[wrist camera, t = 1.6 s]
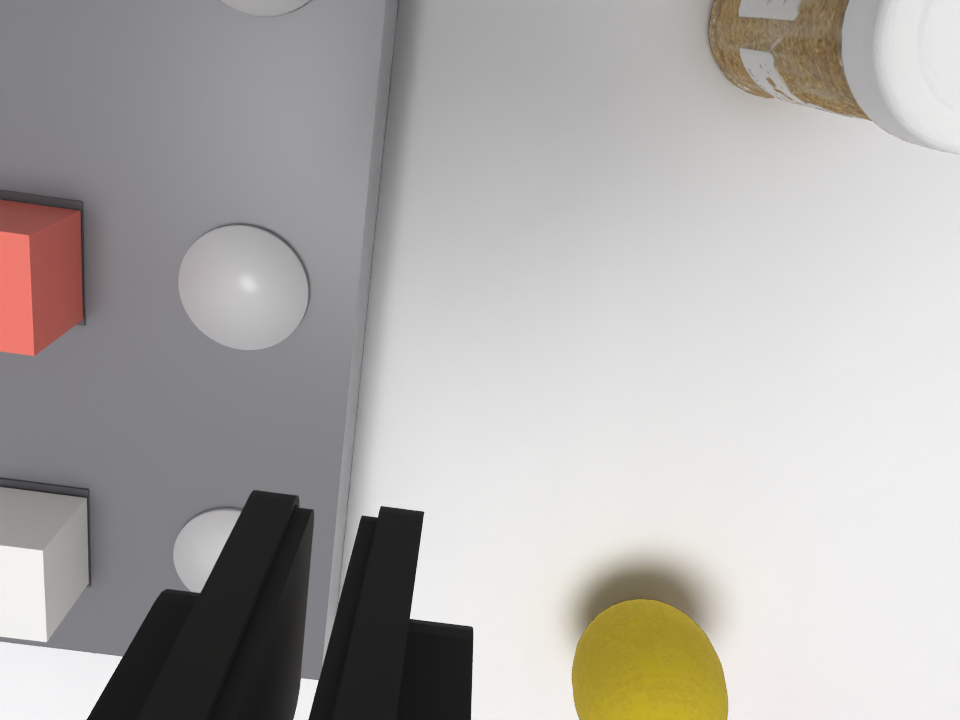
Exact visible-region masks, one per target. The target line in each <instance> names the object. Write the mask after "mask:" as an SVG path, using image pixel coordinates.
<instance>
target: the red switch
mask: <svg viewBox="0 0 960 720" xmlns="http://www.w3.org/2000/svg"><path fill="white" fill-rule="evenodd" d="M82 320H83V301H82V256H81V211H79V210H72V209H65V208H58V207H51V206H43V205H36V204H29V203H22V202H15V201H8V200H1V199H0V351H1V352H8V353H16V354H23V355H31V356H35V355H36V354H38V353H39V352H40V351H42V350H43V349H44V348H46V347H47V346H48V345H50V344H51V343H52V342H54V341H55V340H56V339H58V338H59V337H60V336H62V335H63V334H64V333H66V332H67V331H68V330H70V329H71V328H72V327H74V326H75V325H76V324H78V323H79V322H80V321H82Z"/></svg>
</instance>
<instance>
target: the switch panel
mask: <svg viewBox="0 0 960 720" xmlns="http://www.w3.org/2000/svg"><path fill="white" fill-rule="evenodd" d="M397 8H398V0H0V199H1V200H8V201H15V202H22V203H29V204H36V205H43V206H51V207H58V208H65V209H72V210H79V211H81V256H82V301H83V320H82V321H80V322H79V323H78V324H76V325H75V326H74V327H72V328H71V329H70V330H68V331H67V332H66V333H64V334H63V335H62V336H60V337H59V338H58V339H56V340H55V341H54V342H52V343H51V344H50V345H48V346H47V347H46V348H44V349H43V350H42V351H40V352H39V353H38V354H36V355H35V356H31V355H23V354H16V353H8V352H1V351H0V487H5V488H13V489H20V490H28V491H36V492H44V493H52V494H59V495H67V496H75V497H83V498H87V526H88V571H89V584H88V585H87V586H86V588H85V589H84V591H83V592H82V593H81V595H80V596H79V598H78V599H77V600H76V602H75V603H74V605H73V606H72V608H71V609H70V610H69V612H68V613H67V615H66V616H65V617H64V619H63V620H62V622H61V623H60V624H59V626H58V627H57V629H56V630H55V632H54V633H53V634H52V636H51V637H50V639H49V640H48V641H47V642H40V641H32V640H24V639H16V638H8V637H0V641H1V642H9V643H17V644H25V645H34V646H42V647H50V648H58V649H67V650H75V651H83V652H91V653H100V654H108V655H116V656H124V654H125V652H126V651H127V649H128V647H129V645H130V644H131V642H132V640H133V638H134V637H135V635H136V633H137V631H138V630H139V628H140V626H141V625H142V623H143V621H144V619H145V618H146V616H147V614H148V612H149V611H150V609H151V607H152V605H153V604H154V602H155V600H156V599H157V597H158V596H159V595H160V593H161V592H162V591H164V590H166V589H173V590H181V591H189V592H197V593H201V591H202V589H203V587H204V585H205V583H206V581H207V579H208V577H209V575H210V573H211V571H212V569H213V567H214V565H215V563H216V561H217V559H218V557H219V555H220V553H221V551H222V549H223V547H224V545H225V543H226V541H227V539H228V537H229V535H230V533H231V531H232V529H233V527H234V525H235V523H236V521H237V519H238V517H239V515H240V513H241V511H242V509H243V507H244V505H245V503H246V502H247V500H248V498H249V496H250V494H251V492H252V491H253V490H259V491H267V492H275V493H283V494H290V495H298V496H299V502H300V507H299V508H306V509H314V527H313V539H312V551H311V563H310V574H309V586H308V598H307V610H306V621H305V633H304V645H303V657H302V668H301V678H306V679H314V680H319V678H320V674H321V670H322V666H323V662H324V659H325V655H326V651H327V647H328V643H329V639H330V635H331V632H332V628H333V624H334V620H335V616H336V612H337V606H338V596H339V586H340V576H341V567H342V557H343V547H344V537H345V527H346V517H347V507H348V497H349V487H350V477H351V467H352V457H353V447H354V437H355V427H356V417H357V407H358V397H359V387H360V377H361V367H362V357H363V347H364V337H365V327H366V317H367V307H368V297H369V287H370V277H371V267H372V257H373V247H374V237H375V227H376V217H377V208H378V198H379V188H380V178H381V168H382V158H383V148H384V138H385V128H386V118H387V108H388V98H389V88H390V78H391V68H392V58H393V48H394V38H395V28H396V18H397Z"/></svg>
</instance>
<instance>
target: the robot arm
mask: <svg viewBox="0 0 960 720" xmlns="http://www.w3.org/2000/svg"><path fill="white" fill-rule="evenodd" d="M299 507H300V502H299V496H298V495H290V494H283V493H275V492H267V491H259V490H253V491H252V492H251V494H250V496H249V498H248V500H247V502H246V503H245V505H244V507H243V509H242V511H241V513H240V515H239V517H238V519H237V521H236V523H235V525H234V527H233V529H232V531H231V533H230V535H229V537H228V539H227V541H226V543H225V545H224V547H223V549H222V551H221V553H220V555H219V557H218V559H217V561H216V563H215V565H214V567H213V569H212V571H211V573H210V575H209V577H208V579H207V581H206V583H205V585H204V587H203V589H202V591H201V593H197V592H189V591H181V590H173V589H166V590H164V591H162V592H161V593H160V595H159V596H158V597H157V599H156V600H155V602H154V604H153V605H152V607H151V609H150V611H149V612H148V614H147V616H146V618H145V619H144V621H143V623H142V625H141V626H140V628H139V630H138V631H137V633H136V635H135V637H134V638H133V640H132V642H131V644H130V645H129V647H128V649H127V651H126V652H125V654H124V656H123V658H122V659H121V661H120V663H119V665H118V666H117V668H116V670H115V672H114V673H113V675H112V677H111V679H110V680H109V682H108V684H107V685H106V687H105V689H104V691H103V692H102V694H101V696H100V698H99V699H98V701H97V703H96V705H95V706H94V708H93V710H92V712H91V713H90V715H89V717H88V719H87V720H293V718H294V714H295V710H296V706H297V701H298V695H299V689H300V680H301V668H302V657H303V645H304V633H305V621H306V610H307V598H308V586H309V574H310V563H311V551H312V539H313V527H314V509H306V508H299ZM423 516H424V512H422V511H414V510H406V509H399V508H391V507H383V506H381V507H380V511H379V516H378V518H376V517H369V516H362V517H361V520H360V524H359V528H358V531H357V535H356V539H355V543H354V547H353V551H352V555H351V558H350V562H349V566H348V570H347V574H346V578H345V582H344V585H343V589H342V593H341V597H340V601H339V605H338V609H337V612H336V616H335V620H334V624H333V628H332V632H331V635H330V639H329V643H328V647H327V651H326V655H325V659H324V662H323V666H322V670H321V674H320V678H319V682H318V686H317V689H316V693H315V697H314V701H313V705H312V709H311V712H310V716H309V720H471V695H472V662H473V627H470V626H462V625H454V624H446V623H438V622H430V621H422V620H414V619H410V612H411V604H412V597H413V590H414V582H415V575H416V568H417V560H418V553H419V546H420V538H421V531H422V523H423Z"/></svg>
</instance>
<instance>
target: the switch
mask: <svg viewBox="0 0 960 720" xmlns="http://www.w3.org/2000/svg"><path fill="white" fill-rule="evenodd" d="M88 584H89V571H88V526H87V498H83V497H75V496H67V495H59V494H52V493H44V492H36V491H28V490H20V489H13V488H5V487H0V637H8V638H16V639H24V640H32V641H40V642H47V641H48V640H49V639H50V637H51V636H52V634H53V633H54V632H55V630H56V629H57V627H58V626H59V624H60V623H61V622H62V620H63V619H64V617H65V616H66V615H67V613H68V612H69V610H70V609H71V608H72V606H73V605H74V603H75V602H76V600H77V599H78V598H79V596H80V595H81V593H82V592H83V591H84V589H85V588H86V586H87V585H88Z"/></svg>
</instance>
